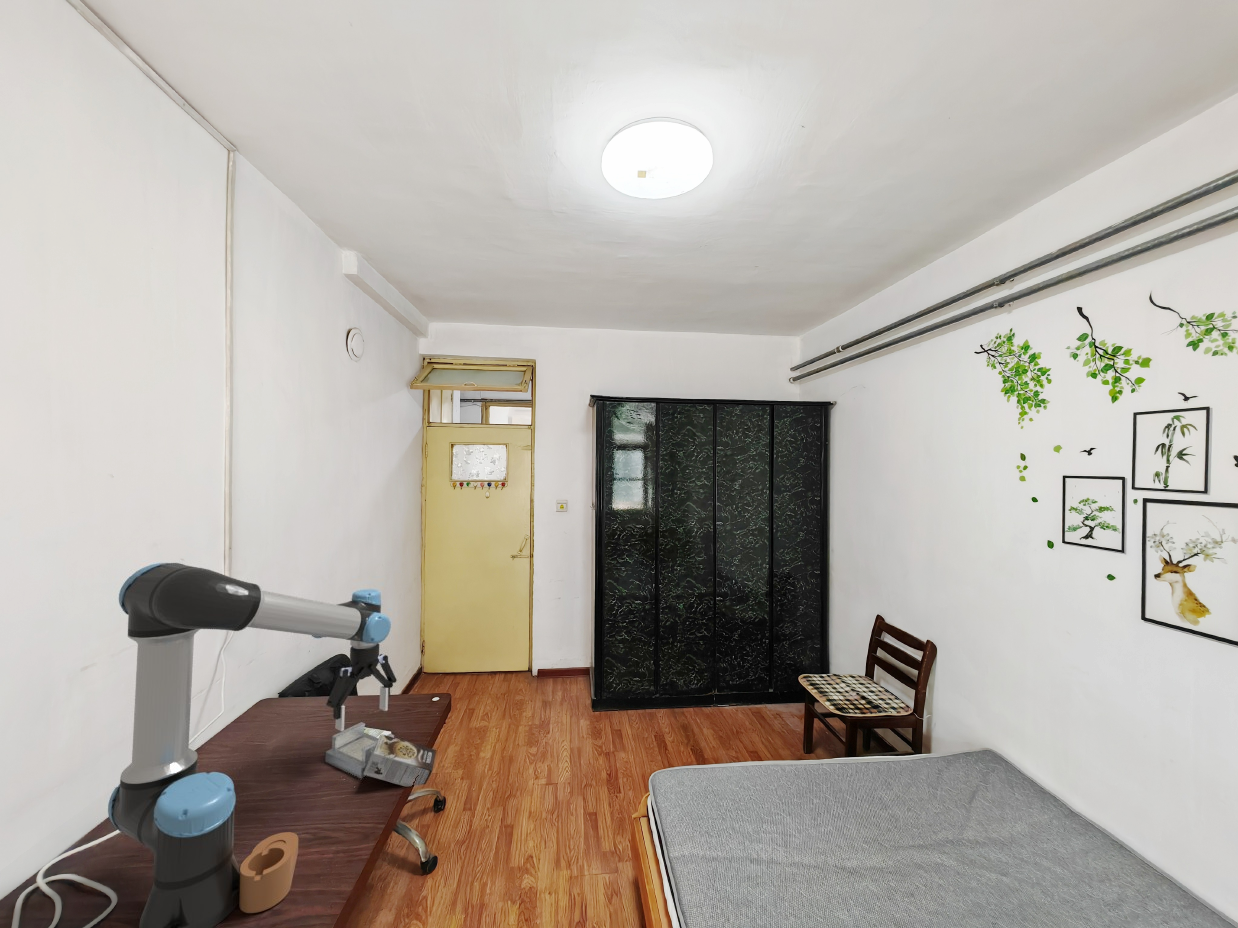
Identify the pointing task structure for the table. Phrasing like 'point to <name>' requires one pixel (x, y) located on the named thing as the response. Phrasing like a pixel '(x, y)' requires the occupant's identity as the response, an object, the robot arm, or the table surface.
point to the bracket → (268, 872)
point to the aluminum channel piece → (352, 750)
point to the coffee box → (400, 762)
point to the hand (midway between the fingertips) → (362, 719)
